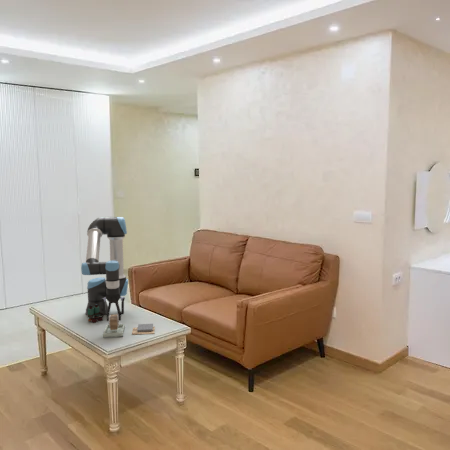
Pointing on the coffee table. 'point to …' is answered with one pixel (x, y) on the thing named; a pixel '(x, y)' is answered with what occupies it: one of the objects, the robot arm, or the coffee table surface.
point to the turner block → (113, 322)
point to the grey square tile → (144, 327)
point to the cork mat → (142, 332)
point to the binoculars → (94, 313)
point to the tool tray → (114, 331)
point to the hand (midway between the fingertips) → (114, 325)
